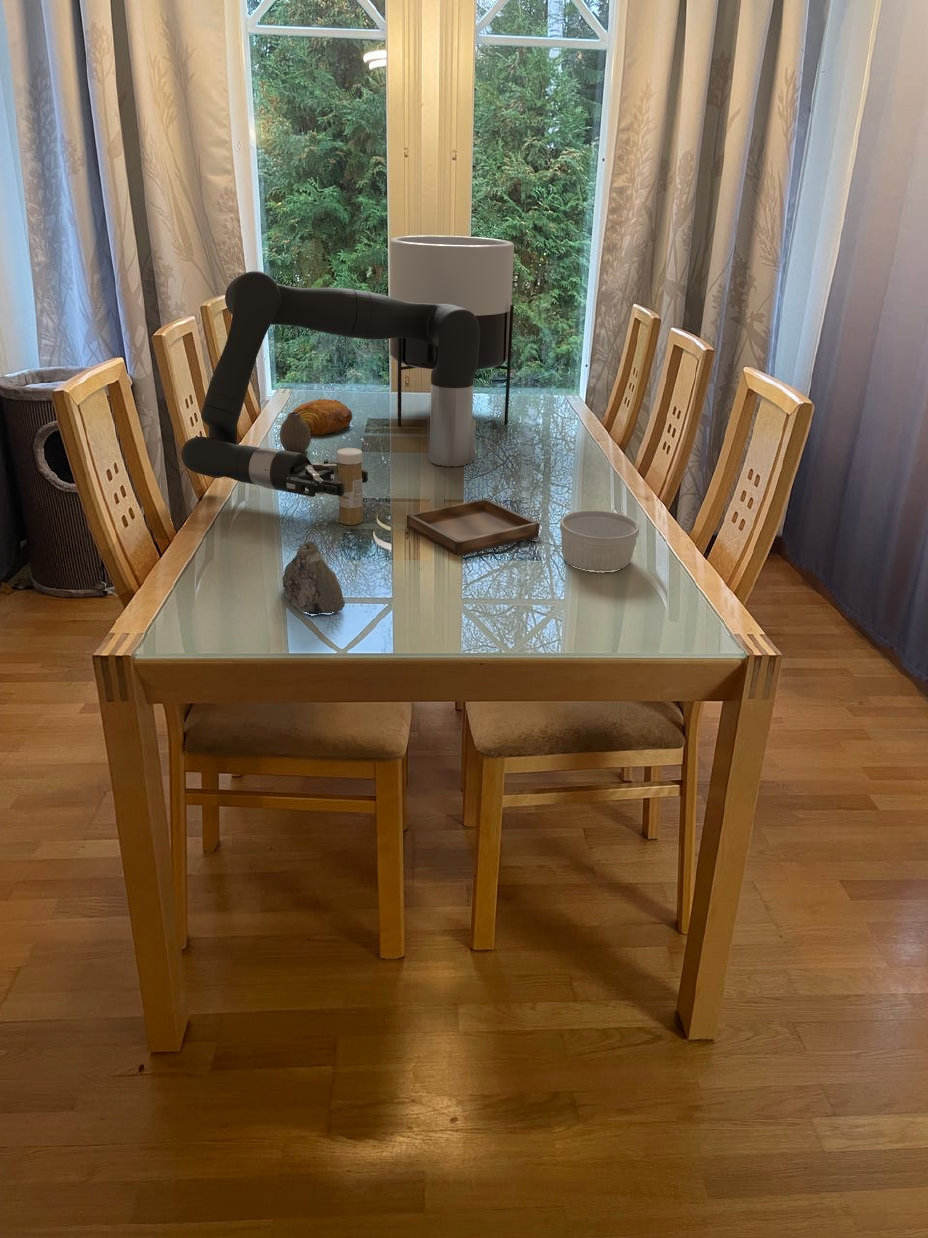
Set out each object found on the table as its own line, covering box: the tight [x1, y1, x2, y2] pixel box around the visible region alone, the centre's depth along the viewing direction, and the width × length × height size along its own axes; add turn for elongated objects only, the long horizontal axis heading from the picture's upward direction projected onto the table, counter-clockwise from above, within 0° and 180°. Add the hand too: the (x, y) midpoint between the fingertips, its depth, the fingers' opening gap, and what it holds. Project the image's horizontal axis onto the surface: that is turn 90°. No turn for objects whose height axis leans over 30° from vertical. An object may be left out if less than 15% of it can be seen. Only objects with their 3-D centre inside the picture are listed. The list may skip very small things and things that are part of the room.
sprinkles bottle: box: [336, 447, 364, 526], centre depth 168 cm, size 5×5×13 cm
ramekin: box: [559, 509, 640, 571], centre depth 156 cm, size 13×13×7 cm
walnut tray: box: [406, 498, 540, 557], centre depth 167 cm, size 18×16×2 cm
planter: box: [389, 235, 515, 427], centre depth 232 cm, size 31×31×43 cm
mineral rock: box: [282, 540, 346, 614], centre depth 138 cm, size 13×11×10 cm
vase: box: [279, 411, 312, 454], centre depth 208 cm, size 7×7×9 cm
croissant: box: [292, 398, 353, 436], centre depth 228 cm, size 14×16×8 cm
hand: (355, 483), depth 167 cm, fingers open, 8 cm apart
